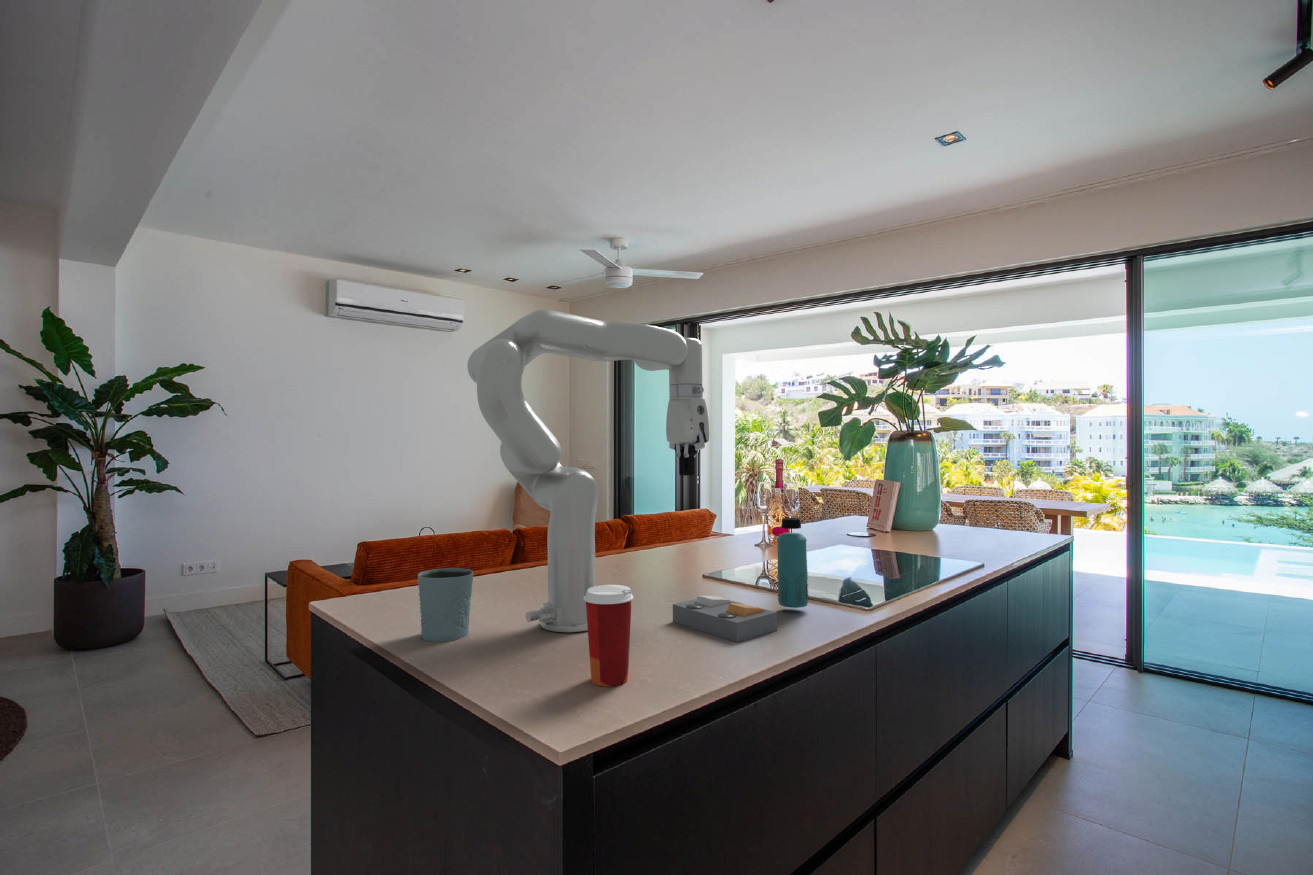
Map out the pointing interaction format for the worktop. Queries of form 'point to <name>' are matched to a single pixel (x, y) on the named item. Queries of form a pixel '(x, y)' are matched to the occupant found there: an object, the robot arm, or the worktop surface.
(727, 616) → the grey switch box
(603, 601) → the paper cup
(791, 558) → the beverage bottle
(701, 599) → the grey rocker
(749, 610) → the labelled cardboard parcel
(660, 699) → the worktop surface
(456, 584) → the grey-blue cup
